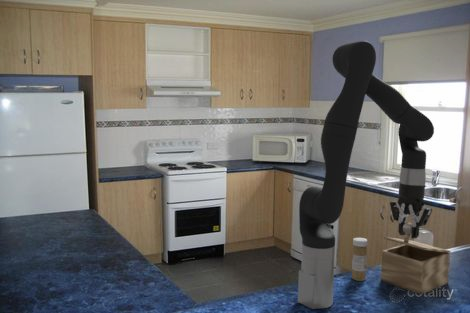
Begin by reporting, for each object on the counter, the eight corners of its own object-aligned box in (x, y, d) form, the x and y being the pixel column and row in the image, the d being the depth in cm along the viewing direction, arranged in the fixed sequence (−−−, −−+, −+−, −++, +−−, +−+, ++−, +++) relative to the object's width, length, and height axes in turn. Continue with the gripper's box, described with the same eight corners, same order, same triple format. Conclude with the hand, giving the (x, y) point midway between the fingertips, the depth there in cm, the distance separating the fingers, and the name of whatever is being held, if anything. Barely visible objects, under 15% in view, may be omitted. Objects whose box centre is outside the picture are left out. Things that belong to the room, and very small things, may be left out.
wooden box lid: (423, 249, 141) (427, 227, 141) (383, 238, 152) (387, 217, 152) (450, 252, 151) (454, 231, 151) (411, 242, 162) (415, 222, 162)
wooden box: (419, 294, 142) (421, 262, 141) (380, 280, 154) (382, 250, 153) (448, 283, 152) (450, 253, 151) (409, 270, 163) (411, 242, 162)
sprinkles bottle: (357, 275, 158) (358, 236, 156) (368, 279, 154) (370, 239, 153) (348, 278, 155) (350, 238, 153) (360, 282, 151) (362, 241, 150)
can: (411, 264, 170) (413, 231, 169) (413, 258, 176) (415, 227, 174) (430, 267, 167) (432, 234, 166) (432, 261, 173) (434, 229, 171)
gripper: (385, 180, 150) (381, 232, 152) (426, 186, 139) (422, 243, 140) (399, 178, 154) (395, 230, 156) (440, 184, 143) (435, 240, 145)
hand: (408, 236), depth 148 cm, fingers closed on wooden box lid, 3 cm apart
